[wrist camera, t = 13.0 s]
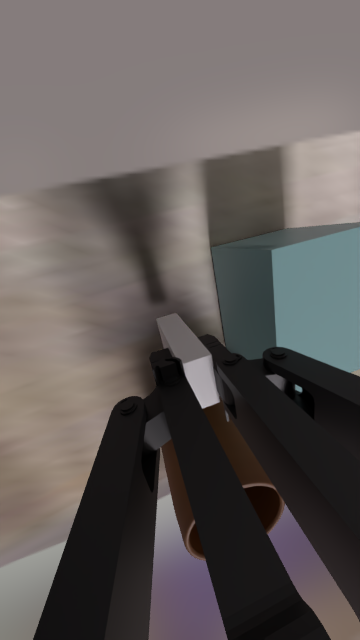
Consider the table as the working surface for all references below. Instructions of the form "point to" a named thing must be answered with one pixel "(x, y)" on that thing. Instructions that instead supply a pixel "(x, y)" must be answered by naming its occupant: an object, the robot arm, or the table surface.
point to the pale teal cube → (293, 293)
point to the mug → (246, 470)
